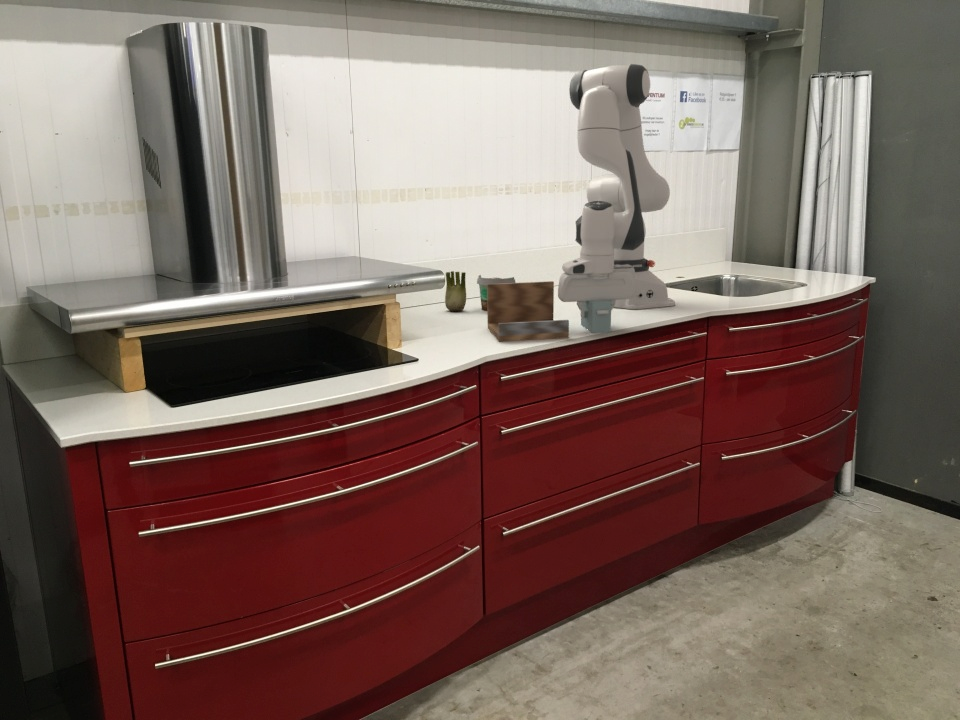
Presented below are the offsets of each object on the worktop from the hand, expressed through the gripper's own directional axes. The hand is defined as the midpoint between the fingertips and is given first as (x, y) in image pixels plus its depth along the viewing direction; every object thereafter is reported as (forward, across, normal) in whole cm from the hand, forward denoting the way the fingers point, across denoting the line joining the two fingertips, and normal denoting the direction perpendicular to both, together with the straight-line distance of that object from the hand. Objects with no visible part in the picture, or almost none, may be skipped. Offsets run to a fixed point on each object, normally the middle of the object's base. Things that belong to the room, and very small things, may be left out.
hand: (595, 316), depth 210 cm
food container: (+3, +22, -31) cm, 38 cm away
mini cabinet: (+3, 0, 0) cm, 3 cm away
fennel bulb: (+3, +33, -33) cm, 47 cm away
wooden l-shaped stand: (+3, +19, +1) cm, 19 cm away
